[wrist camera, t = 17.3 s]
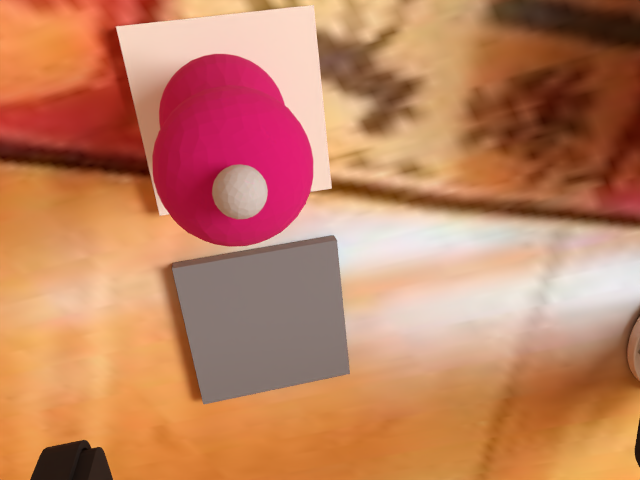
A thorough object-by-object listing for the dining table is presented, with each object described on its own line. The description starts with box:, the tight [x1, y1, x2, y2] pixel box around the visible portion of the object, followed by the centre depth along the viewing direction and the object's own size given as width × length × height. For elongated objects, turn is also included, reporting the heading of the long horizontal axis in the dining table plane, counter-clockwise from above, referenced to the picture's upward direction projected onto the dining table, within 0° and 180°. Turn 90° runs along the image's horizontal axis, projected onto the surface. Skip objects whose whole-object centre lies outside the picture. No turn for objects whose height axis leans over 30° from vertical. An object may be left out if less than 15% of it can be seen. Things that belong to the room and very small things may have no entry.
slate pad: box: [172, 235, 350, 404], centre depth 42 cm, size 12×12×1 cm
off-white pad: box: [116, 5, 332, 216], centre depth 36 cm, size 12×12×1 cm
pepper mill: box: [152, 54, 313, 246], centre depth 26 cm, size 7×7×20 cm
